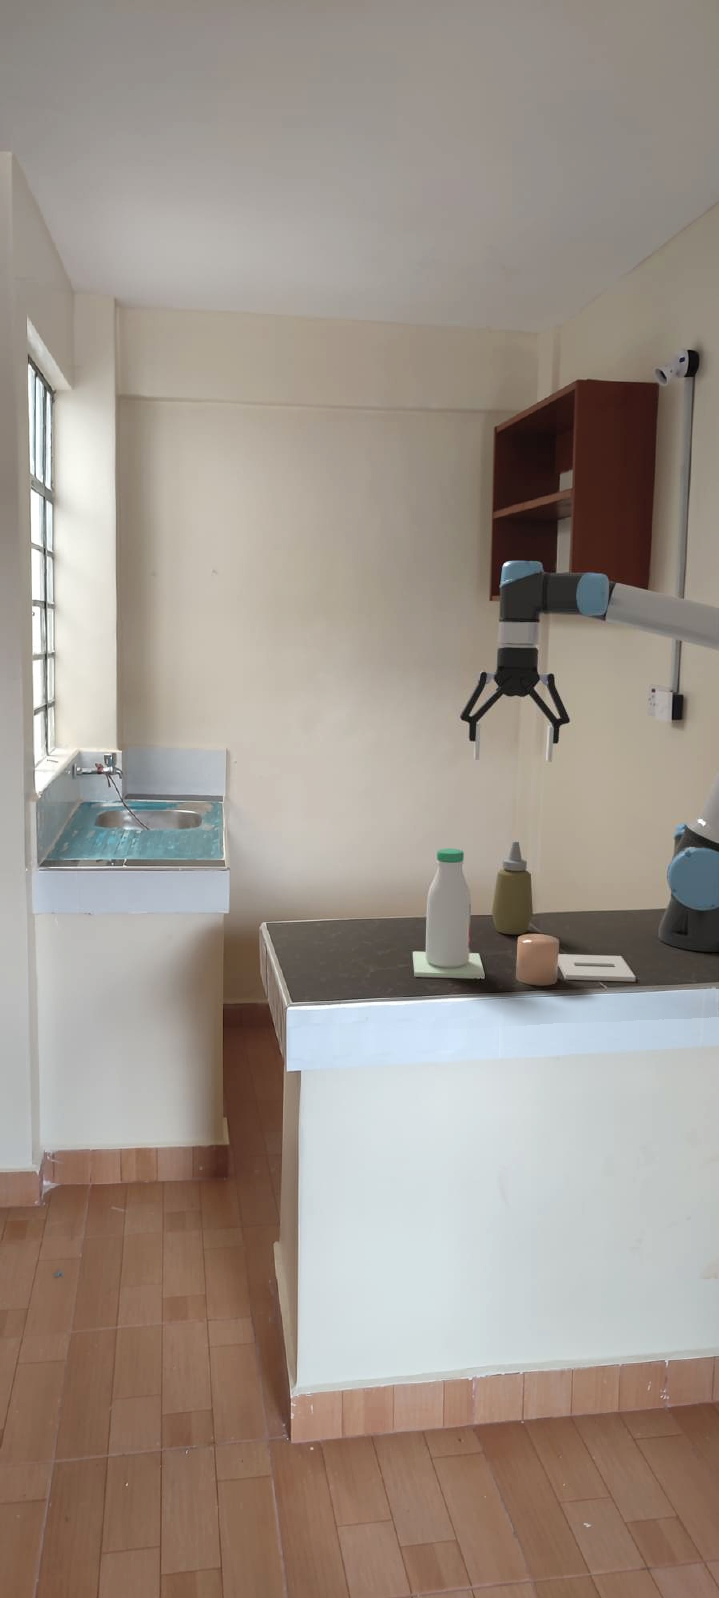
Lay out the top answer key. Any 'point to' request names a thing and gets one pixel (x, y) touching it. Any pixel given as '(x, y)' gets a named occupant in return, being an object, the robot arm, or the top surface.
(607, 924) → the top surface
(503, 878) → the squeeze bottle
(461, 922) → the milk bottle
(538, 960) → the rounded peach cylinder
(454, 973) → the tile
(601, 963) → the tile
